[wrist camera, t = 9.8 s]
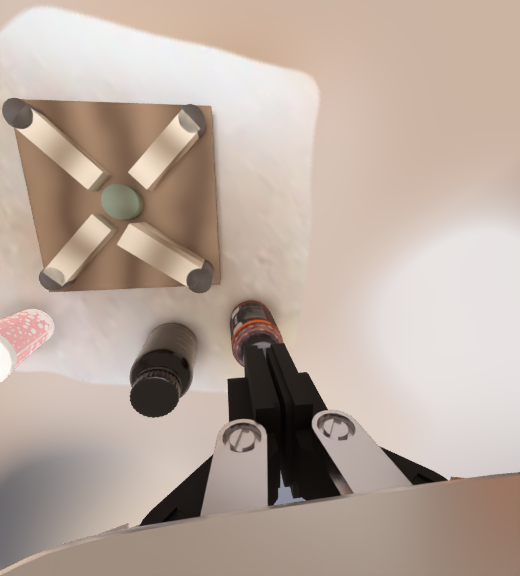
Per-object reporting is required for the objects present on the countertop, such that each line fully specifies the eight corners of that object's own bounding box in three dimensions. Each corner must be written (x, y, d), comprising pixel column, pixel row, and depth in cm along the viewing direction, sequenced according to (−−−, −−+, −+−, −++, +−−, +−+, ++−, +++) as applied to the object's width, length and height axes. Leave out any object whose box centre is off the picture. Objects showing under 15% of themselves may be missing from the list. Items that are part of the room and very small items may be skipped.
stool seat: (60, 286, 35) (36, 297, 31) (24, 108, 30) (-12, 88, 26) (220, 280, 38) (220, 289, 33) (211, 113, 33) (210, 97, 28)
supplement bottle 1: (168, 374, 40) (147, 438, 29) (137, 340, 38) (100, 393, 27) (207, 348, 40) (202, 402, 29) (177, 312, 38) (158, 354, 27)
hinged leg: (217, 266, 35) (216, 277, 29) (206, 284, 35) (203, 297, 29) (146, 221, 32) (129, 222, 26) (134, 240, 33) (116, 245, 27)
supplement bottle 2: (222, 311, 39) (222, 349, 28) (260, 292, 39) (275, 322, 28) (241, 345, 41) (248, 393, 30) (277, 327, 41) (298, 368, 30)
